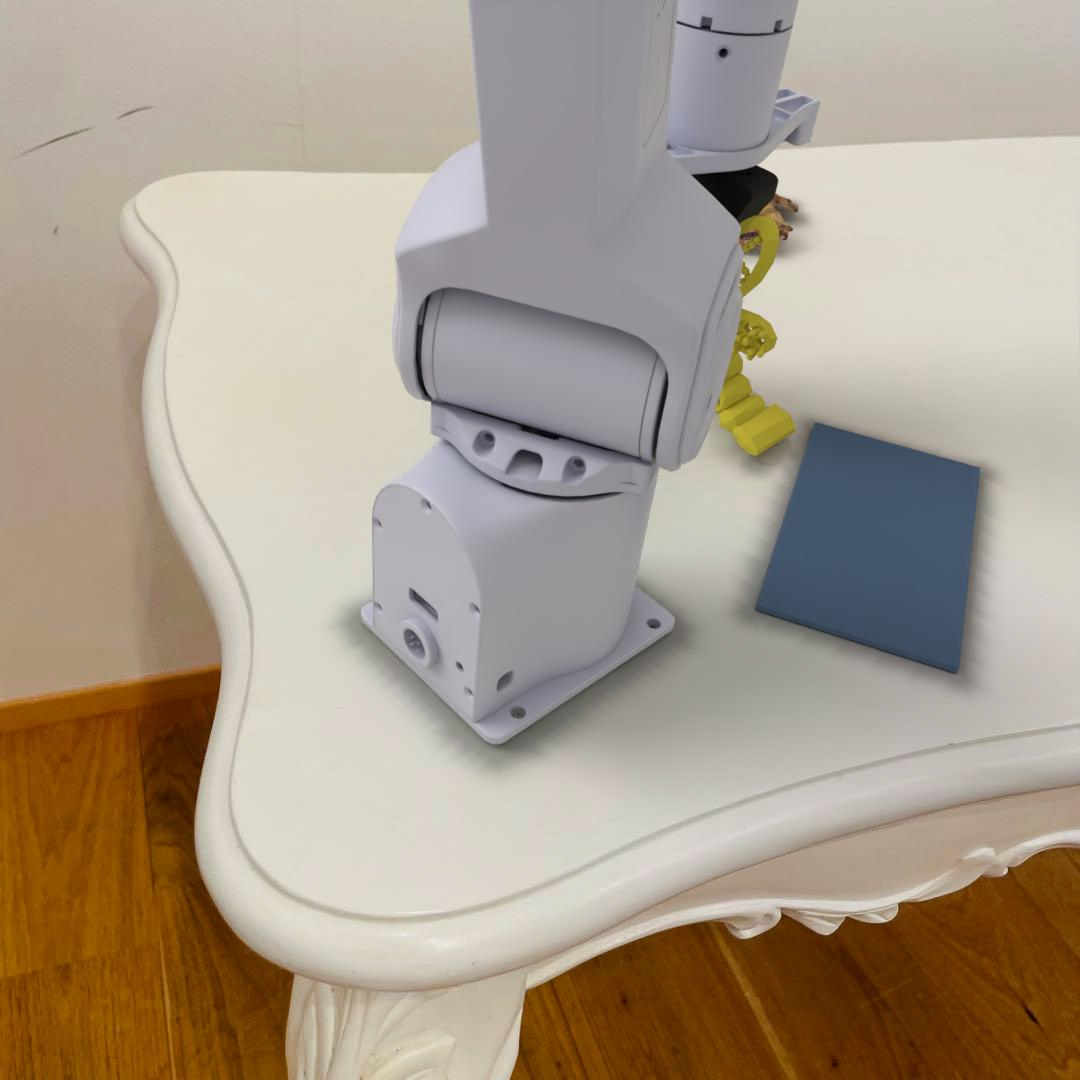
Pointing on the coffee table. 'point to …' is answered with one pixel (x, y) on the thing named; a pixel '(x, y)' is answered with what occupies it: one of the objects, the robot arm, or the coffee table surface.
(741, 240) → the crusty food piece
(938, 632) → the blue rectangular board
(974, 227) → the coffee table surface
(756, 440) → the decorative insect
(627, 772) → the coffee table surface
